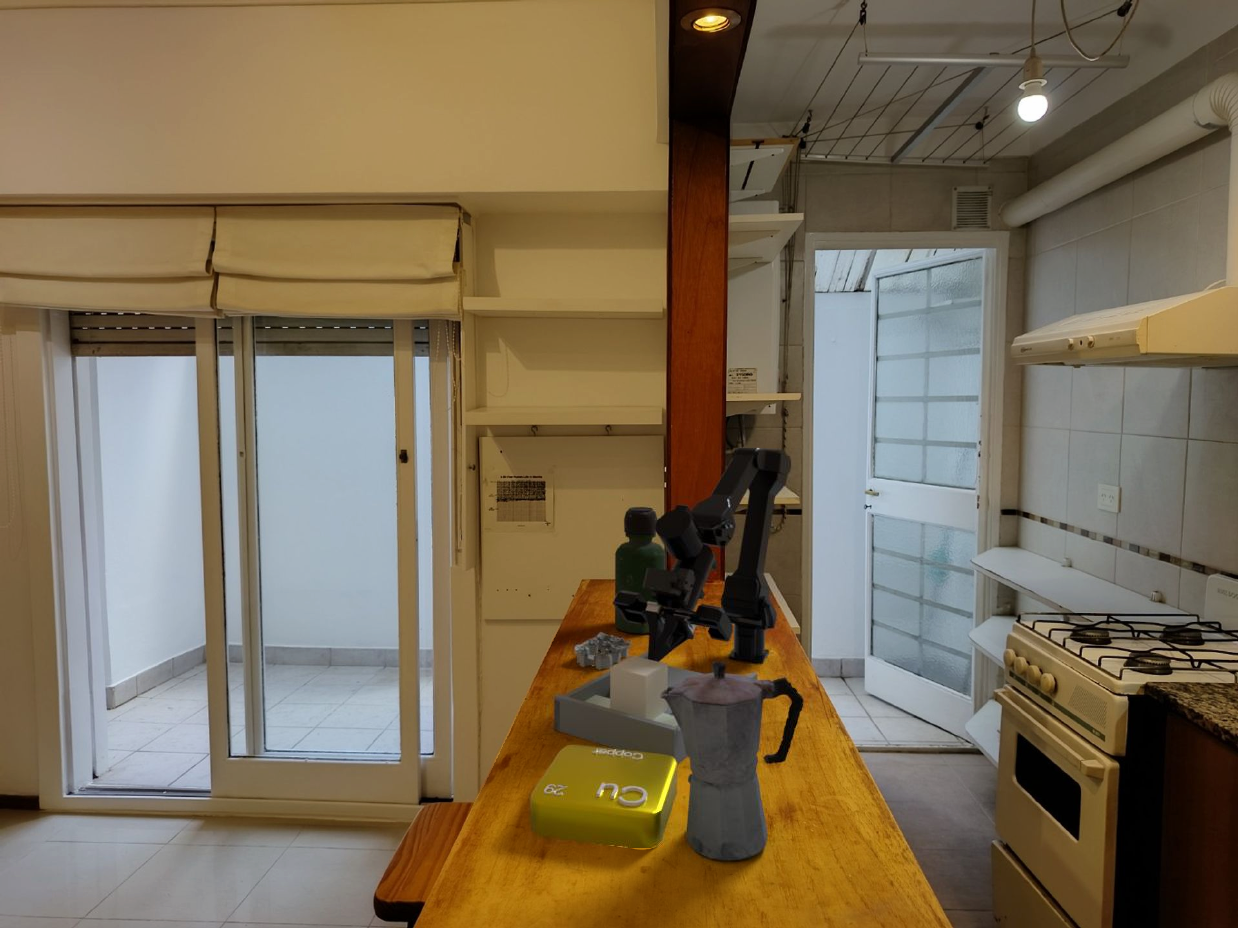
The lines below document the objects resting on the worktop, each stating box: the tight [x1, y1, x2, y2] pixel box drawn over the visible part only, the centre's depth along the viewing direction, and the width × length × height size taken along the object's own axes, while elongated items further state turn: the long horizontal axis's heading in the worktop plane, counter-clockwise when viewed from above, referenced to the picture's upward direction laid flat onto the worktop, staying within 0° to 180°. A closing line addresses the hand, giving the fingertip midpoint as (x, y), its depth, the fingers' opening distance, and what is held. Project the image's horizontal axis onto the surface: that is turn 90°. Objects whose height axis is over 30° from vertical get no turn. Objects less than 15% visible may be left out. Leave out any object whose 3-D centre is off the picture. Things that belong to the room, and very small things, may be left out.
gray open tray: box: [553, 651, 759, 765], centre depth 118 cm, size 26×20×5 cm
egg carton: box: [573, 631, 632, 671], centre depth 143 cm, size 11×8×4 cm
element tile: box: [529, 744, 678, 848], centre depth 92 cm, size 15×15×5 cm
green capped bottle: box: [614, 506, 667, 635], centre depth 162 cm, size 10×10×25 cm
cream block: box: [609, 655, 669, 720], centre depth 113 cm, size 6×6×7 cm
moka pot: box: [660, 661, 805, 862], centre depth 85 cm, size 10×15×20 cm, turn 95°
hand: (650, 663), depth 116 cm, fingers closed, pressing on cream block
